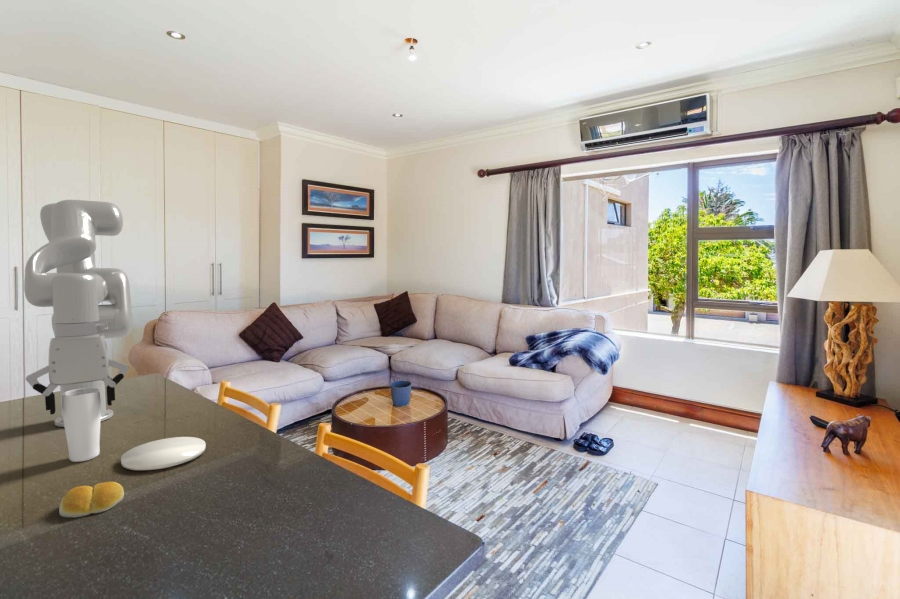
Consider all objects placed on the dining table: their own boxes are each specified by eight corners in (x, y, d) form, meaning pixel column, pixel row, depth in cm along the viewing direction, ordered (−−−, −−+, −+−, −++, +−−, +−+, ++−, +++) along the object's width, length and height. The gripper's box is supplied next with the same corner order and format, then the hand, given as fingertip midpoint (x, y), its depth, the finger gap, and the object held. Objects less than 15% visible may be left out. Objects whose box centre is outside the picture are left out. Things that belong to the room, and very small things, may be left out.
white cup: (82, 465, 97) (78, 396, 96) (56, 462, 98) (52, 394, 97) (111, 453, 104) (108, 388, 103) (87, 450, 105) (83, 386, 104)
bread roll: (123, 509, 81) (122, 487, 80) (57, 524, 76) (55, 501, 75) (125, 489, 87) (124, 469, 87) (64, 502, 83) (63, 481, 82)
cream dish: (119, 454, 103) (118, 447, 103) (198, 437, 113) (198, 431, 113) (123, 480, 91) (123, 473, 90) (212, 459, 101) (212, 452, 100)
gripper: (125, 326, 107) (129, 398, 108) (24, 332, 96) (30, 412, 97) (127, 328, 101) (131, 404, 102) (21, 336, 90) (26, 421, 91)
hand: (82, 408), depth 99 cm, fingers open, 9 cm apart
